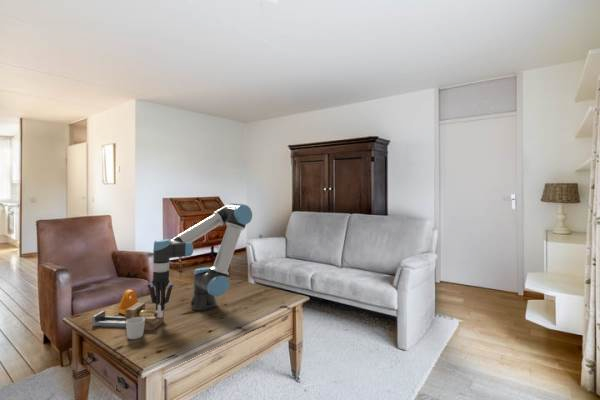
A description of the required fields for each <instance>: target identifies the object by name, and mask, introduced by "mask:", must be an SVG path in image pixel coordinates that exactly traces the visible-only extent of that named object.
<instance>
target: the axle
mask: <svg viewBox="0 0 600 400" xmlns="http://www.w3.org/2000/svg"><path fill="white" fill-rule="evenodd" d="M137 316H151V317H156V310H154V309H152V310H151V309H150V310H147V309H145V310H138V311H137ZM124 317H125V318H126V312H125V315H124Z"/></svg>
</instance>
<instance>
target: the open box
mask: <svg viewBox="0 0 600 400" xmlns="http://www.w3.org/2000/svg"><path fill="white" fill-rule="evenodd" d="M138 310H146V302H139V301H138V303H136V304H134V305H133V306H131V307H130V308H128V309H126V321H127V320H128V319H131V318H135V317H142V318H144V319H145V324H144V331H145V330H147V331H148V330H149V331H155V329H157V328H158V327H159V326H161V324H163V322H164V321H165V320H164V319H165V310H163V316H162V317H161V318H157V314H158V311H156V310H155V311H156V317H151V316H137V311H138Z"/></svg>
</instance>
